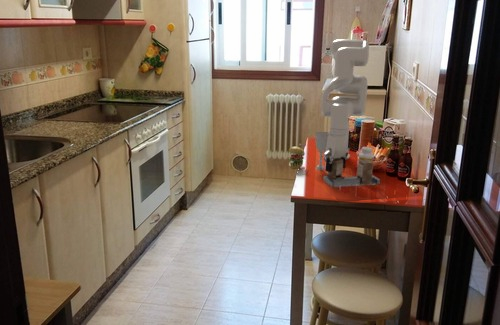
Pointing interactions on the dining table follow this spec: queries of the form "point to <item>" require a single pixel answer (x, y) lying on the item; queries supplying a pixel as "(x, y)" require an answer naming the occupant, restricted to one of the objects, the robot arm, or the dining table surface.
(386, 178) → the dining table surface
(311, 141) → the dining table surface
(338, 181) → the rail
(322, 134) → the chalice
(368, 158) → the supplement bottle
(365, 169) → the mounted finger
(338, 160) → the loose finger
